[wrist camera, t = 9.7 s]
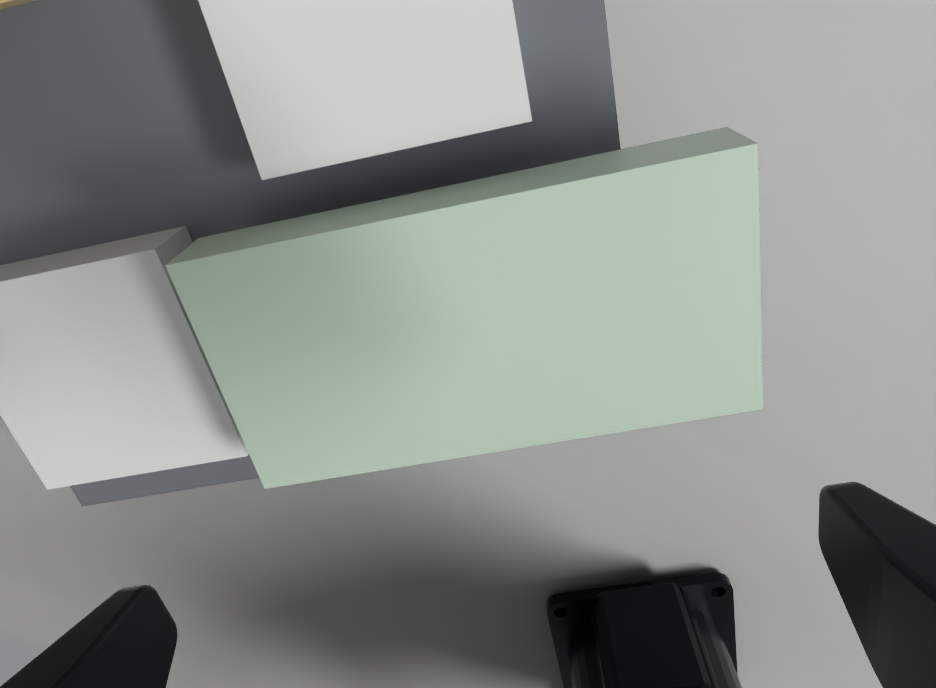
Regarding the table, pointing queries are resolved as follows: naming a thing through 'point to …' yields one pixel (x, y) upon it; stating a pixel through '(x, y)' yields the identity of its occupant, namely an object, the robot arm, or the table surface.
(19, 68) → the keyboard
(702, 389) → the green key
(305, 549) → the table surface
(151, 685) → the robot arm
